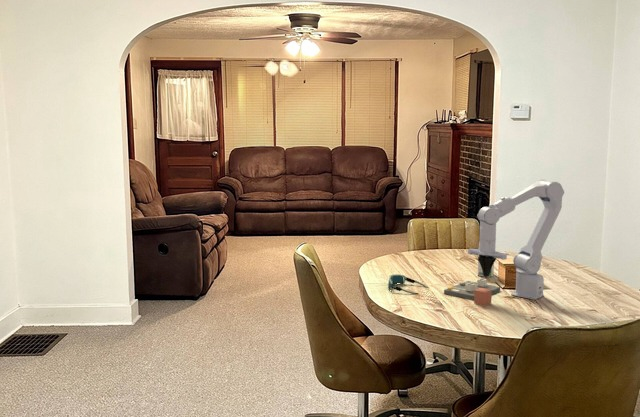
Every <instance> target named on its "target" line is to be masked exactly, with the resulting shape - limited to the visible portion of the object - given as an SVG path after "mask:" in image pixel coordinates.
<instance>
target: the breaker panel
mask: <svg viewBox="0 0 640 417" xmlns="http://www.w3.org/2000/svg"><path fill="white" fill-rule="evenodd" d="M471 282H473V284H475V290H476V289H479V288H484V289H490V290H492V293H491V296H492V295H494V294H496V293H499V292H500V291H501V286H496V285H493V284H492V285H491V284H487V285H486V286H484V287H481V286H477V281H471V280H466V281H464V282H462V281H461V282H459V283H458V284H455V285H452V286H447V288H446V289H444V290H443V294H444V295H449V296H453V297H458V298H463V299H466V300H473V301H474V291H466V290H465V285H466V284H468V283H471Z"/></svg>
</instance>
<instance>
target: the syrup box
mask: <svg viewBox="0 0 640 417" xmlns="http://www.w3.org/2000/svg"><path fill="white" fill-rule="evenodd" d="M477 256H478V257H479V255H477ZM478 257H477V258H478ZM477 264H478V266H477V276H478V275H479V276H478V277H484V276H483V271H482V267H481V265H480V263H479V261H478V260H477ZM494 272H495V263H494V264H493V266H492V268H491V271H490V275H489V276H487V277H486V278H491V277H493V275H494Z"/></svg>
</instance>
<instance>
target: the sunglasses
mask: <svg viewBox="0 0 640 417" xmlns="http://www.w3.org/2000/svg"><path fill="white" fill-rule="evenodd" d="M406 282H409V283H411V284H414V283H416V284H418V285H420V286H422V287H424V288H426V287H427V288H426V289H429V286H427V285H425V284H424V283H423V282H420V281H419V280H418V281H417V280H415V279H412V278H410V277H407V276H406V275H403V274H397V273H395V274H391V275H389V277H388V284H387V285H388V286H387V289H388V288H389V289H390V290H392V291H393V290H395V291H398V292H401V291H402V292H405V293H408V294H411V295H419V293H418V292H413V291H410V290H407V289H405V288H402V287H400V286H398V284H397V283H404V284H405V283H406ZM394 284H397V285H394ZM389 289H388V290H389ZM390 290H389V291H390Z"/></svg>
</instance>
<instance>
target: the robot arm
mask: <svg viewBox="0 0 640 417" xmlns="http://www.w3.org/2000/svg"><path fill="white" fill-rule="evenodd" d="M564 194H565V189H564V188H563V185H562V184H561V183H560V182H558V181H549V180H546V179H540V180H538V181H535V182H533V183H532V184H531V185H530V186H528V187H526V188H525V189H523V190H521V191H519V192H518V193H516V194H515V195H513V196H512V197H509V196H502V197H500V198H499V199H500V200H498V201H495V202H494V203H489V205H488V206H483V207H482V208H480V209H479V210H478V213H477V215H476V216H477V219H478V221H479V241H478V242H479V243H478V248H469V249H467V252H468V253H467V254H468V255H473V256H478V255H479V257H477V262H478V261H479V263H480V265H481V267H482V271H483V276H482V277H484V276H486V278H488V277H487V276H489V275H490V271H491V268H492V266H493V264H494V265H495V261H496V260H497V259H500V260H502V261H505V260H507V258H508V254H507V253H505V252H504V253H503V252H500V251H496V243H497V242H496V240H497V237H496V236H497V223H498V222H499V221H500V219H501V218H502V217H505V216H506V215H508V214H510V213H512V212H514V211H515V209H516V206H518V205H520V204H522V203H524V202H527V201H528V200H531V199H533V198H536V197H538V199H540V201H542V204H543V206H544V208H543V210H542V212H541V214H540V217H539V218H538V221H537V223H536V225H535V226H534V229H533V231H532V233H531V234H530V237H529V239H528V242H527V243H526V245H524V246H522V247H521V248H520V249H519V251H518V252H517V253H516V254H515V255H514V257H513V260H512V261H513V266H514V267H516V268H515V270H516V273H515V276H516V277H515V292H512V293H511V296H514V297H519V298H525V299H529V300H534V301H535V300H538V299H540V298H542V297H543V296H545V295H544V281H545V279H544V275H542V274H539V273H538V272H539V271H540V269H541V266H542V264H541V263H542V260H543V254H542V249H543V247H544V245H545V243H546V241H547V239H548V237H549V235H550V233H551V231H552V229H553V227H554V224H555V222H556V221H557V218H558V216H559V214H560V212H561V210H562V206H563V205H562V204H563V196H564Z"/></svg>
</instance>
